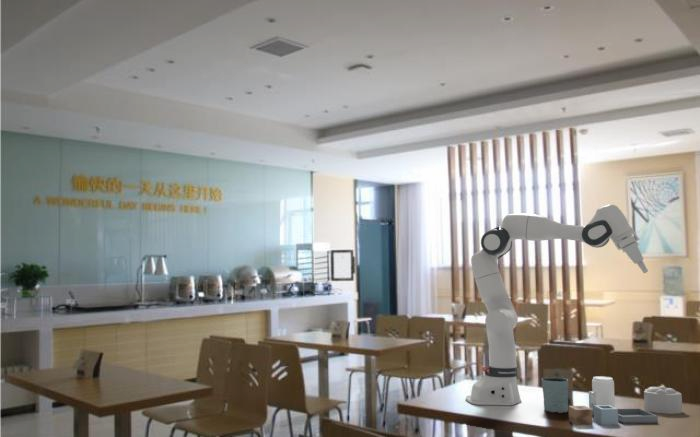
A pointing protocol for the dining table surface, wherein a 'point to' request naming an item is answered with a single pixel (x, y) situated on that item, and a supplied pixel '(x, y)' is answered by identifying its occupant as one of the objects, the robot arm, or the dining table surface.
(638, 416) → the tray
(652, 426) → the dining table surface
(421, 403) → the dining table surface
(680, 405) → the lumpy-topped squat cylinder
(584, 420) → the walnut block
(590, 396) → the pin gauge
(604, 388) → the white tall block
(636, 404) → the dining table surface
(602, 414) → the blue block
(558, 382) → the teal bin
